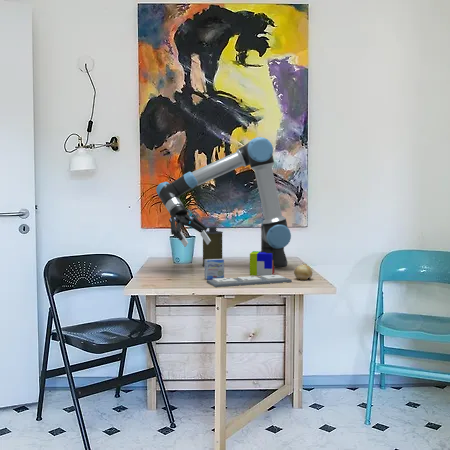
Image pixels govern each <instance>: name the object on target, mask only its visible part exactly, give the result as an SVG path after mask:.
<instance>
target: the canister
mask: <svg viewBox="0 0 450 450" xmlns="http://www.w3.org/2000/svg"><path fill="white" fill-rule="evenodd" d="M206 233H207V234H208V237H209V238H210V240H211V241H210V243H209V244H208V245H207V244H206V242H205V241H204V239H203V238H202V267H204V260H205V259H223V231H219V230H218V229H217V226H209V227H208V231H207V230H206Z"/></svg>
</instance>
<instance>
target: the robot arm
mask: <svg viewBox="0 0 450 450" xmlns="http://www.w3.org/2000/svg"><path fill="white" fill-rule="evenodd" d="M273 153H274V148H273V144H272V142H271V141H270V140H269V139H267V138H265V137H261V136H257V137H254V138H253V139H251V140H250V141H248V143H246V144H245V145H243V146H241V147H239V148H237V149H236V151H235V152H233V153H231V154H229V155H226V156H224V157H221V158H220V159H217V160H216V161H214V162H211V163H209V164H207V165H205V166H202V167H200V168H198V169H196V170H194V171H192V172H191V171H188V172H186V173H184V174H183V175H180V177H178V178H176V179H175V180H173V182H168V181H163V182H161V183H159V184H158V185H157V186H156V189H155V191H156V193H157V196H158V198H159V199H160V201H161V202H162V203H163V206H164V207H165V209H166V210H167V212H168V213H169V216H170V218H169V219H168V221H169V223H170V234H171V235H174V237H175V238H176V237H177V238H178V240H179V241H180V242H181V244H182V246H183V247H184V248H185V247H187V246H188V244H189V241H188V240H187V238H186V236H185V235H184V233H183V231H181V229H182V226H183V227H184V226H187V227H190V228H192V229H194V230H195V231H197V232H198V233H200V236H201V238H202V240H203V239H204V241H205V242H206V244H207V245H208V244H209V243H210V241H211V240H210V238H209V237H208V234H207V233H206V231H207V230H208V227H207V226H206V225H205V224H204V223H202V222H201V221H200V220H199V219H197V218H196V217H195V215H194V214H192V215H191V216H189V215H188V210H187V209H186V207H185V206H184V204H183V202H182V201H181V199H180V198H179V197H181V196H182V195H185V194H186V193H187V192H188V191H191V190H192V189H195V188H196V187H198V186H200V185H203V184H205V183H207V182H210V181H212V180H214V179H216V178H218V177H220V176H223V175H225V174H227V173H229V172H232V171H233V170H236V169H238V168H242V167H247V166H250V169H252V170H253V171H254V175H255V179H256V184H257V189H258V195H259V199H260V203H261V209H262V213H263V218H264V220H262V221H261V225H260V230H261V231H260V234H261V235H260V237H261V238H260V239H261V240H260V242H261V243H260V246H261V247H260V251H264V252H274V268H282V267H287V266H288V259H287V256H286V253H285V247H286V246H287V245H289V244H290V242H291V239H292V233H291V231H290V229H289V227H288V222H287V218H286V217H285V216H283V214H282V209H281V203H280V200H279V194H278V189H277V185H276V180H275V176H274V171H273V166H274V164H275V160H274V155H273Z"/></svg>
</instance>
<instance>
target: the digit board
mask: <svg viewBox="0 0 450 450" xmlns="http://www.w3.org/2000/svg"><path fill="white" fill-rule="evenodd" d="M283 282H287V283H292V282H293V280H292V279H290V278H287V277H285V276H283V275H279V274H273V275H265V276H253V275H249V276H237V277H235V278H232V277H224V278H215V279H213V280H207V279H206V283H207V284H208V285H211V286H212V285H213V287H215V288H225V287H236V286H237V287H238V286H239V285H241V286H252V285H253V286H254V285H255V284H257V285H271V284H270V283H272V284H284V283H283Z"/></svg>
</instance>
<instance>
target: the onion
mask: <svg viewBox="0 0 450 450" xmlns="http://www.w3.org/2000/svg"><path fill="white" fill-rule="evenodd" d="M293 274H294V277H295V278H296V280H299V279H300V280H299V281H308V280H310V279H311V278H312V276H313V270H312V268H311V267H310V266H309V265H308V263H302V264H301V265H297V266H296V267H295V268H294V271H293ZM308 278H309V279H308Z"/></svg>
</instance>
